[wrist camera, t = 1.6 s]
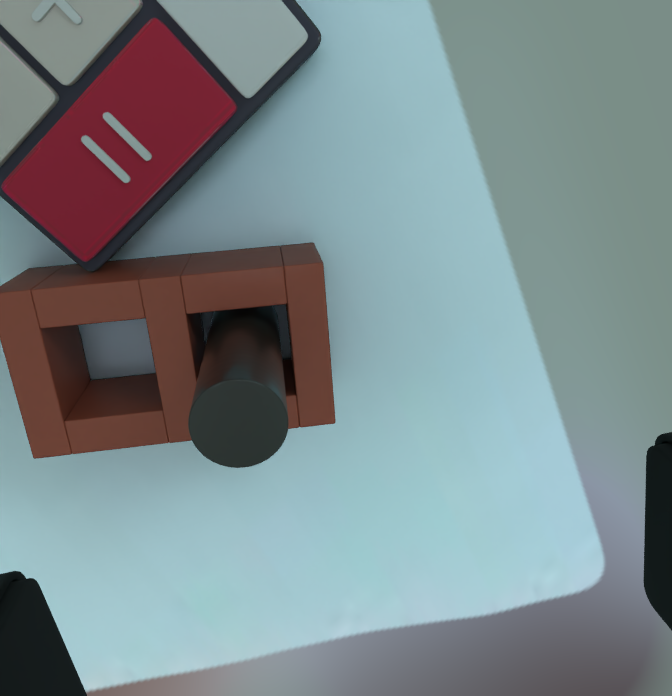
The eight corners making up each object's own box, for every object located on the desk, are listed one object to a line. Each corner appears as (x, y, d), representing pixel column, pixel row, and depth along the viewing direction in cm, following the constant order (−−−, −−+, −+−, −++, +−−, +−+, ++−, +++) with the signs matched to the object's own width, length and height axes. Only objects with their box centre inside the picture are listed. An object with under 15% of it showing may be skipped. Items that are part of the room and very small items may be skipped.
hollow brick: (64, 413, 34) (33, 459, 29) (27, 268, 31) (-14, 293, 26) (325, 384, 35) (335, 423, 30) (314, 242, 32) (323, 262, 27)
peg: (216, 357, 34) (195, 473, 23) (207, 295, 32) (180, 385, 21) (281, 351, 34) (292, 462, 23) (274, 288, 33) (283, 373, 22)
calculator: (-137, 87, 24) (115, -227, 21) (-78, 89, 28) (141, -176, 25) (85, 281, 28) (327, 36, 25) (110, 258, 32) (321, 45, 29)
